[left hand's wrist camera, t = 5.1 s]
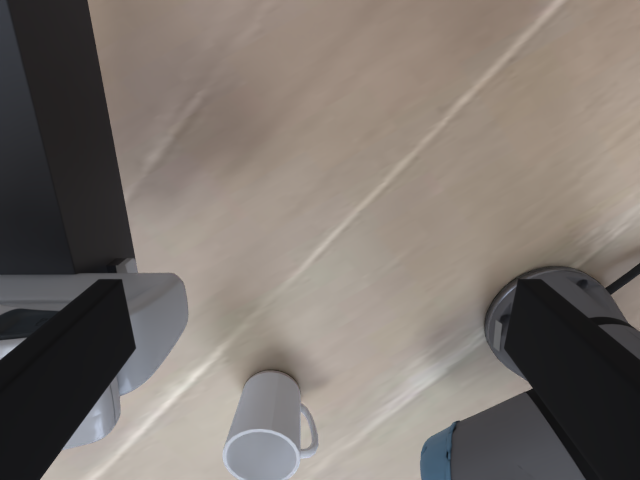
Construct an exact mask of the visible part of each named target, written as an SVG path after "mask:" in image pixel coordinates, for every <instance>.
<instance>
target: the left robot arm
mask: <svg viewBox="0 0 640 480" xmlns="http://www.w3.org/2000/svg"><path fill="white" fill-rule="evenodd" d="M639 274H640V263H639V264H638V265H637V266H635V267H634V268H633V269H631V270H630V271H629V272H627V273H626V274H625V275H623V276H622V277H620V278H619V279H618V280H616V281H615V282H614V283H612V284H611V285H609V286H608V287H607V288H604V287H603V286H602V285H601V284H600V283H599V282H598V281H596V280H595V279H594V278H592V277H591V276H589V275H587V274H586V273H584V272H582V271H580V270H577V269H574V268H570V267H563V266H552V267H544V268H540V269H536V270H533V271H530V272H528V273H525V274H523V275H521V276H519V277H518V278H516V279H514V280H513V281H511V282H510V283H509V284H508V285H506V286H505V287H504V288H503V289H502V290H501V291H500V292H499V293H498V295H497V296H496V297H495V299H494V300H493V302H492V303H491V305H490V307H489V309H488V312H487V315H486V319H485V336H486V340H487V342H488V345H489V346H490V348H491V350H492V351H493V353H494V354H495V355H496V357H497V358H498V359H499V360H500V361H501V362H502V363H503V364H504V365H505V366H506V367H507V368H509V369H510V370H511V371H513V372H515V373H516V374H518V375H519V376H521V377H522V378H524V379H525V380H527V381H528V382H529V384H530V385H531V386H532V388H533V389H531V390H529V391H526V392H523V393H521V394H519V395H517V396H515V397H513V398H510V399H508V400H506V401H504V402H502V403H500V404H497V405H495V406H493V407H491V408H489V409H487V410H485V411H482V412H480V413H478V414H476V415H474V416H471V417H469V418H467V419H464V420H462V421H456V422H453V423H452V425H451V426H450V427H448V428H446V429H444V430H443V431H441V432H439V433H437V434H435V435H433V436H431V437H430V438H429V439H428V440H427V441H426V442H425V443H424V445H423V448H422V451H421V460H420V470H421V479H422V480H640V332H639V331H638V330H636V329H635V328H634V327H632V326H631V325H630V324H629V323H628V322H627V320H626V319H625V317H624V316H623V314H622V312H621V311H620V309H619V308H618V306H617V304H616V303H615V301H614V300H613V298H612V297H611V294H613V293H614V292H615V291H617V290H618V289H619V288H621V287H622V286H624V285H625V284H626V283H628V282H629V281H631V280H632V279H633V278H635V277H636V276H637V275H639ZM135 349H136V345H135V340H134V335H133V330H132V325H131V320H130V315H129V311H128V306H127V301H126V296H125V291H124V286H123V281H122V279H98V280H97V281H96V282H95V283H93V284H92V285H91V286H90V287H88V288H87V289H86V290H85V291H84V292H82V293H81V294H80V295H79V296H77V297H76V298H75V299H74V300H73V301H71V302H70V303H69V304H68V305H66V306H65V307H64V308H63V309H62V310H60V311H59V312H58V313H57V314H55V315H54V316H53V317H52V318H51V319H49V320H48V321H47V322H46V323H44V324H43V325H42V326H41V327H40V328H38V329H37V330H36V331H35V332H33V333H32V334H31V335H30V336H29V337H27V338H26V339H25V340H24V341H22V342H21V343H20V344H19V345H18V346H16V347H15V348H14V349H13V350H11V351H10V352H9V353H8V354H6V355H5V356H4V357H3V358H2V359H0V480H40V479H41V477H42V476H43V475H44V473H45V472H46V471H47V469H48V468H49V467H50V465H51V464H52V463H53V461H54V460H55V458H56V457H57V456H58V454H59V453H60V452H61V450H62V449H63V448H64V446H65V445H66V443H67V442H68V441H69V439H70V438H71V437H72V435H73V434H74V433H75V431H76V430H77V428H78V427H79V426H80V424H81V423H82V422H83V420H84V419H85V418H86V416H87V415H88V413H89V412H90V411H91V409H92V408H93V407H94V405H95V404H96V403H97V401H98V400H99V398H100V397H101V396H102V394H103V393H104V392H105V390H106V389H107V388H108V386H109V385H110V384H111V382H112V381H113V379H114V378H115V377H116V375H117V374H118V373H119V371H120V370H121V369H122V367H123V366H124V364H125V363H126V362H127V360H128V359H129V358H130V356H131V355H132V354H133V352H134V351H135Z"/></svg>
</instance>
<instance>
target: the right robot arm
mask: <svg viewBox="0 0 640 480" xmlns="http://www.w3.org/2000/svg"><path fill="white" fill-rule="evenodd" d="M106 267H107V271H108V273H78V274H75V275H0V359H2V358H3V357H4V356H5V355H6V354H8V353H9V352H10V351H11V350H13V349H14V348H15V347H16V346H18V345H19V344H20V343H21V342H22V341H24V340H25V339H26V338H27V337H29V336H30V335H31V334H32V333H33V332H35V331H36V330H37V329H38V328H40V327H41V326H42V325H43V324H44V323H46V322H47V321H48V320H49V319H51V318H52V317H53V316H54V315H55V314H57V313H58V312H59V311H60V310H62V309H63V308H64V307H65V306H66V305H68V304H69V303H70V302H71V301H73V300H74V299H75V298H76V297H77V296H79V295H80V294H81V293H82V292H84V291H85V290H86V289H87V288H88V287H90V286H91V285H92V284H93V283H95V282H96V281H97V280H98V279H122V281H123V286H124V291H125V296H126V301H127V306H128V311H129V315H130V320H131V325H132V330H133V335H134V340H135V345H136V349H135V351H134V352H133V354H132V355H131V356H130V358H129V359H128V360H127V362H126V363H125V364H124V366H123V367H122V369H121V370H120V371H119V373H118V374H117V375H116V377H115V378H114V379H113V381H112V382H111V384H110V385H109V386H108V388H107V389H106V390H105V392H104V393H103V394H102V396H101V397H100V398H99V400H98V401H97V403H96V404H95V405H94V407H93V408H92V409H91V411H90V412H89V413H88V415H87V416H86V418H85V419H84V420H83V422H82V423H81V424H80V426H79V427H78V428H77V430H76V431H75V433H74V434H73V435H72V437H71V438H70V439H69V441H68V442H67V443H66V445H65V446H64V448H63V449H62V450H65V449H69V448H73V447H77V446H82V445H86V444H89V443H93V442H95V441H98V440H100V439H102V438H104V437H105V436H106V435H108V434H109V433H110V432H111V430H112V429H113V428H114V426H115V425H116V423H117V421H118V419H119V417H120V414H121V409H120V396H122V395H124V394H127V393H129V392H131V391H133V390H135V389H136V388H138V387H139V386H141V385H142V384H143V383H144V382H146V381H147V380H148V379H149V378H150V377H151V376H152V375H153V374H154V373H155V371H156V370H157V369H158V368H159V366H160V365H161V364H162V362H163V361H164V360H165V358H166V357H167V356H168V354H169V353H170V351H171V350H172V348H173V347H174V345H175V344H176V342H177V341H178V339H179V338H180V336H181V334H182V333H183V331H184V329H185V327H186V325H187V322H188V302H187V295H186V290H185V286H184V283H183V281H182V280H181V279H180V278H179V277H178V276H177V275H176V274H174V273H138V270H137V265H136V260H135V259H134V258H115V259H114V260H113V261H112V262H110V263H109V264H108V265H106Z"/></svg>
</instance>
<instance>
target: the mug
mask: <svg viewBox="0 0 640 480" xmlns="http://www.w3.org/2000/svg"><path fill="white" fill-rule="evenodd" d="M301 412H302V413H303V414H304V416H305V417H306V419H307V421H308V424H309V427H310V430H311V435H312V443H311V445H310V446H309V447H308V448H306V449H300V435H301ZM317 447H318V434H317V430H316V426H315V423H314V420H313V418H312V415H311V413H310V412H309V410H308V408H307V407H306V406H304V405H303V404H302V403H301V394H300V388H299V386H298V384H297V383H296V382H295V380H294V379H293V378H292V377H290V376H289V375H287V374H285V373H283V372H280V371H274V370H268V371H262V372H259V373H257V374H255V375H253V376H252V377H251V378H250V379H249V380H248V381H247V382H246V384H245V386H244V388H243V391H242V394H241V397H240V400H239V403H238V406H237V409H236V412H235V416H234V419H233V422H232V425H231V428H230V431H229V434H228V437H227V440H226V443H225V446H224V449H223V461H224V465H225V466H226V468H227V470H228V471H229V472H230V473H231V474H232V475H233V476H234V477H236V478H237V479H239V480H287V479H289V478H290V477H291V476H292V475H293V474H294V473H295V472H296V470H297V469H298V467H299V463H300V458H308V457H311V456H312V455H314V454H315V452H316V450H317Z"/></svg>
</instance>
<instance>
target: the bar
mask: <svg viewBox="0 0 640 480" xmlns="http://www.w3.org/2000/svg"><path fill="white" fill-rule="evenodd" d="M115 258H134V259H135V254H134V249H133V243H132V238H131V233H130V227H129V222H128V217H127V211H126V206H125V200H124V195H123V190H122V184H121V179H120V173H119V168H118V163H117V157H116V152H115V147H114V141H113V136H112V130H111V125H110V120H109V114H108V109H107V103H106V98H105V93H104V87H103V82H102V77H101V71H100V66H99V60H98V55H97V50H96V44H95V39H94V34H93V28H92V23H91V17H90V12H89V7H88V1H87V0H0V275H75V274H78V273H108V271H107V267H106V265H108V264H109V263H110V262H112V261H113V260H114V259H115Z"/></svg>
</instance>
